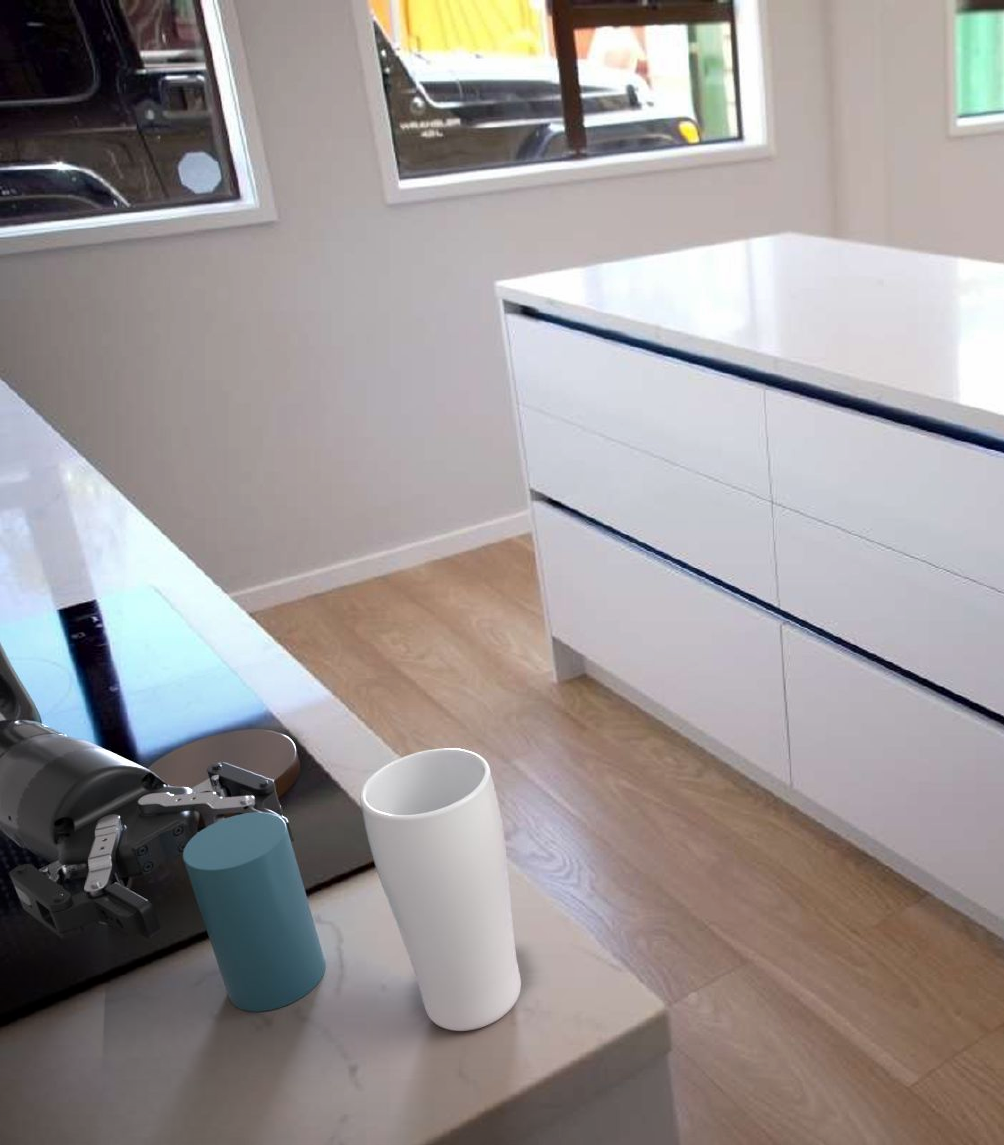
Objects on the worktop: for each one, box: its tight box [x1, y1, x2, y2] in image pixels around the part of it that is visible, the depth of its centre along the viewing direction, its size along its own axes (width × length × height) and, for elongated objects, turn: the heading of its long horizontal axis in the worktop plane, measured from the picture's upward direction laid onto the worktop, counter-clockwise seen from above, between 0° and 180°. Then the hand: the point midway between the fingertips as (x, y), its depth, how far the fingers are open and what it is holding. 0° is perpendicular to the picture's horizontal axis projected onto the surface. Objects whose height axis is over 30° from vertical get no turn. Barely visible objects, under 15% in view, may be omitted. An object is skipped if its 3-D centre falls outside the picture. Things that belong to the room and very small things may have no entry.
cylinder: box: [182, 812, 327, 1013], centre depth 75 cm, size 5×5×10 cm
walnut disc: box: [147, 729, 301, 829], centre depth 97 cm, size 11×11×2 cm
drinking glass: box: [359, 748, 522, 1032], centre depth 71 cm, size 7×7×15 cm
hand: (221, 879), depth 76 cm, fingers open, 8 cm apart
